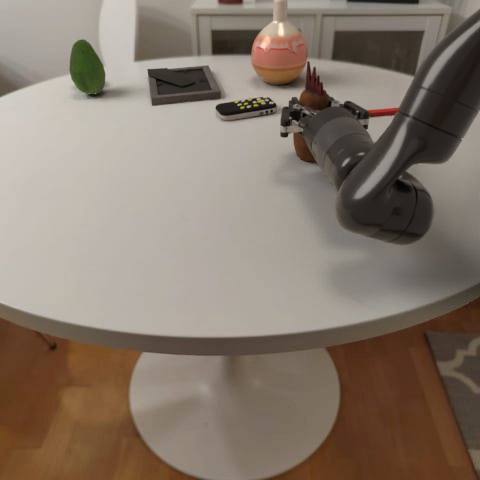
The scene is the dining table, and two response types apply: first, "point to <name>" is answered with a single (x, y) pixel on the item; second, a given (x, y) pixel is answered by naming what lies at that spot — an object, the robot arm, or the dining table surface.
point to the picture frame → (182, 85)
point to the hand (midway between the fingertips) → (309, 101)
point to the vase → (279, 49)
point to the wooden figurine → (314, 99)
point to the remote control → (245, 108)
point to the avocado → (86, 68)
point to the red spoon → (383, 112)
